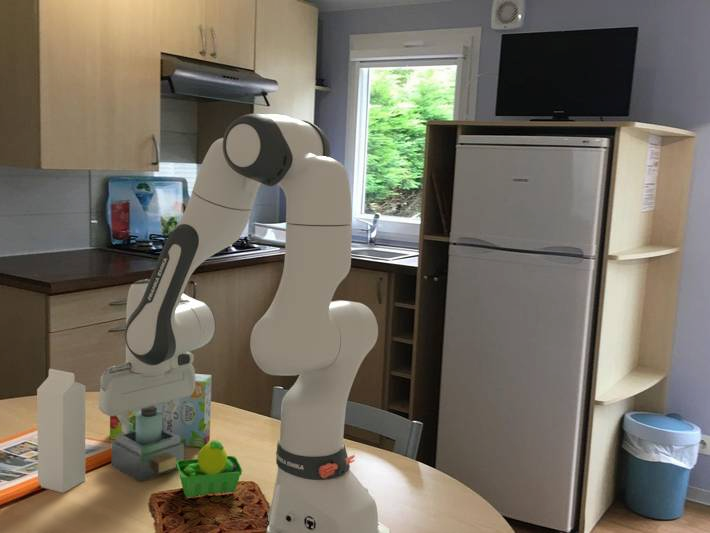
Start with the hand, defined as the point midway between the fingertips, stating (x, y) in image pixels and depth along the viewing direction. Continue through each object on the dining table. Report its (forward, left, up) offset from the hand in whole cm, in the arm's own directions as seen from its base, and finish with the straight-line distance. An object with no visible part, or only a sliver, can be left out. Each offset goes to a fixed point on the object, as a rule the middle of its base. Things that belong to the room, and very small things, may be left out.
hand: (148, 426), depth 148 cm
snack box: (+10, -10, -9) cm, 17 cm away
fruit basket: (-17, -2, -9) cm, 19 cm away
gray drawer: (0, 0, -9) cm, 9 cm away
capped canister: (0, 0, -4) cm, 4 cm away
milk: (+4, +16, -9) cm, 19 cm away
